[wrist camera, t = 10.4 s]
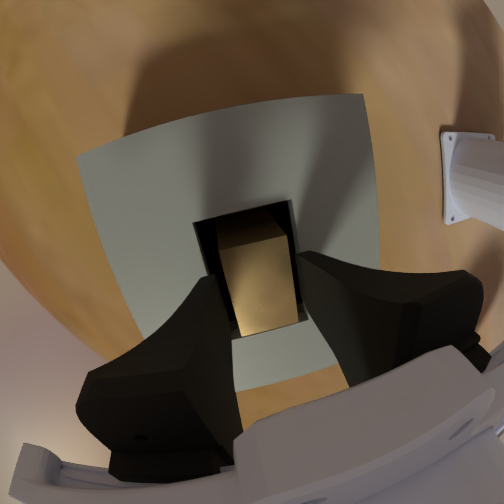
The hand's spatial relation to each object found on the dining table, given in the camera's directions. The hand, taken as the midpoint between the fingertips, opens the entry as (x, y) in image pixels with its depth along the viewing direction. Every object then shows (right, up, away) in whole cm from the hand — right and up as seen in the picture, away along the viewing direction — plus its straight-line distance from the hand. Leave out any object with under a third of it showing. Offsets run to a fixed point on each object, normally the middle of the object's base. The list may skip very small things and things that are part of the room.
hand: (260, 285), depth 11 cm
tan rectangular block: (-1, +2, +4) cm, 5 cm away
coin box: (-1, +2, +6) cm, 7 cm away
